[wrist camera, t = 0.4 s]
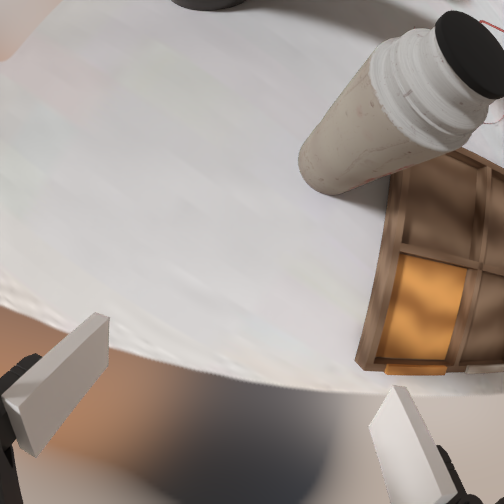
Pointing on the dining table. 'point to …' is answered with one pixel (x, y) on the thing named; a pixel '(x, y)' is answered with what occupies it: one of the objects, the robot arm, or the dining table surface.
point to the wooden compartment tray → (439, 271)
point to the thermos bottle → (406, 105)
